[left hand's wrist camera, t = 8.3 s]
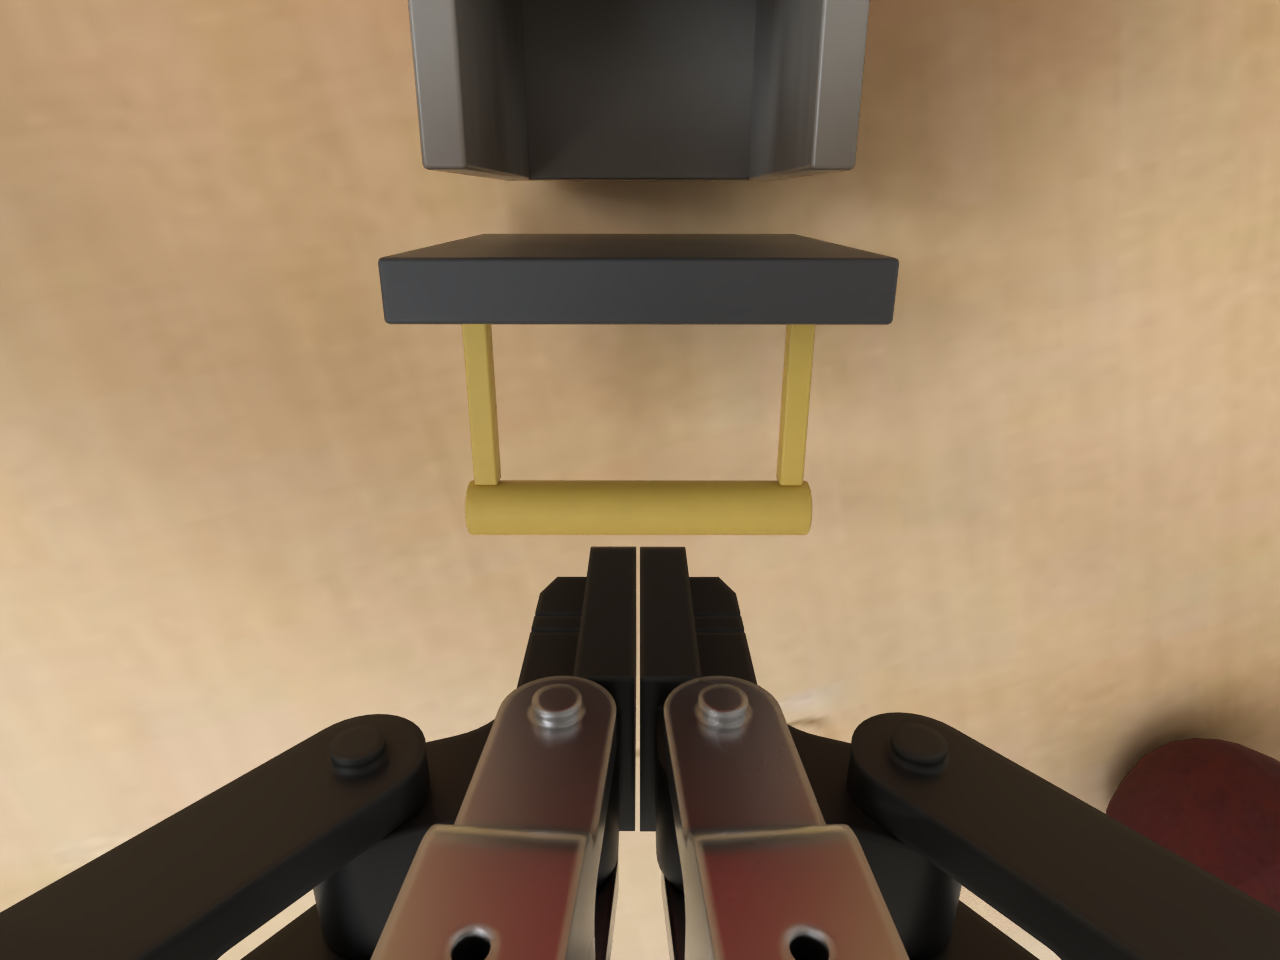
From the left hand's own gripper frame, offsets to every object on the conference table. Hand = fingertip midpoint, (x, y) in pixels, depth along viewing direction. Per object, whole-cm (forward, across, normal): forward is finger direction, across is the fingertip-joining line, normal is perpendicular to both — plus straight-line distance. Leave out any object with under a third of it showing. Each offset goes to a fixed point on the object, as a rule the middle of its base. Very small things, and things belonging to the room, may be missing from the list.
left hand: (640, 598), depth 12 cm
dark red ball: (+15, +22, -17) cm, 31 cm away
